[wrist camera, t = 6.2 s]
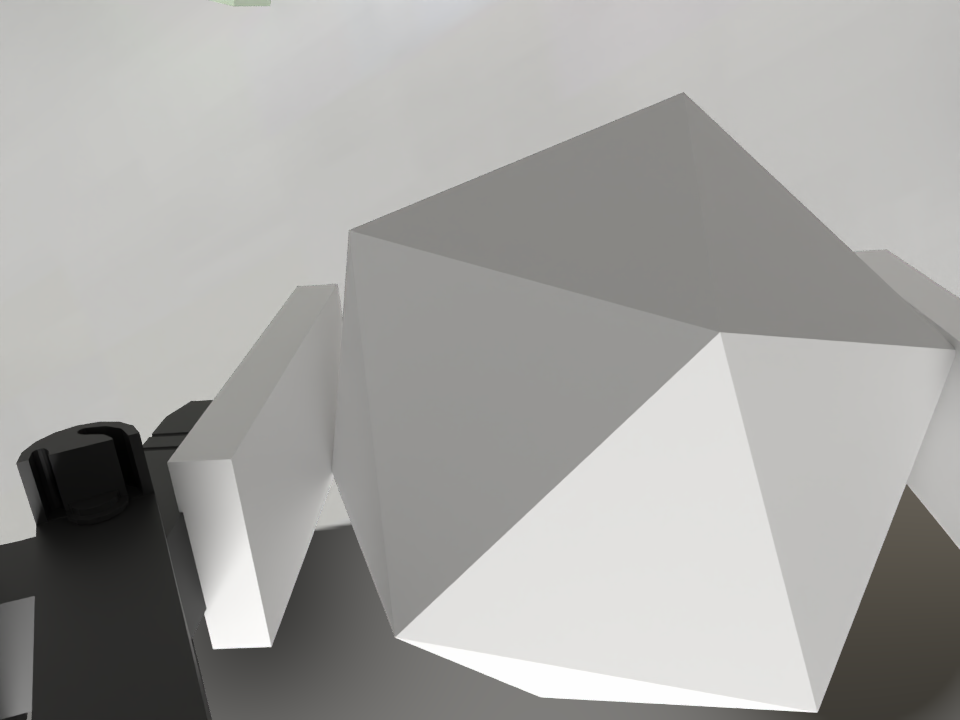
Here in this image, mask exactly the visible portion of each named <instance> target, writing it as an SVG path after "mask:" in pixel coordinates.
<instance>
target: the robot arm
mask: <svg viewBox="0 0 960 720" xmlns="http://www.w3.org/2000/svg"><path fill="white" fill-rule="evenodd" d="M854 253H855V254H856V255H857V256H858V257H859V258H860V259H861V260H863V261H864V262H865V263H866V264H867V265H868V266H869V267H870V268H871V269H872V270H873V271H874V272H875V273H876V274H877V275H879V276H880V277H881V278H882V279H883V280H884V281H885V282H886V283H887V284H888V285H889V286H890V287H891V288H892V289H893V290H894V291H896V292H897V293H898V294H899V295H900V296H901V297H902V298H903V299H904V300H905V301H906V302H907V303H908V304H909V305H910V306H912V307H913V308H914V309H915V310H916V311H917V312H918V313H919V314H920V315H921V316H922V317H923V318H924V319H925V320H926V321H927V322H929V323H930V324H931V325H932V326H933V327H934V328H935V329H936V330H937V331H938V332H939V333H940V334H941V335H942V336H943V337H944V338H946V339H947V340H948V341H949V342H950V343H951V344H952V345H953V346H954V348H955V349H956V356H955V359H954V361H953V364H952V366H951V369H950V372H949V374H948V377H947V379H946V382H945V384H944V387H943V390H942V392H941V395H940V397H939V400H938V403H937V405H936V408H935V410H934V413H933V415H932V418H931V421H930V423H929V426H928V428H927V431H926V434H925V436H924V439H923V441H922V444H921V446H920V449H919V452H918V454H917V457H916V459H915V462H914V465H913V467H912V470H911V472H910V475H909V477H908V480H907V483H906V484H907V485H908V486H909V487H910V488H911V490H912V491H913V492H914V493H915V495H916V496H917V497H918V498H919V499H920V501H921V502H922V503H923V504H924V506H925V507H926V508H927V509H928V510H929V512H930V513H931V514H932V516H933V517H934V518H935V519H936V520H937V522H938V523H939V524H940V525H941V527H942V528H943V529H944V530H945V531H946V533H947V534H948V535H949V536H950V538H951V539H952V540H953V541H954V543H955V544H956V545H957V546H958V548H959V549H960V298H958V297H957V296H955V295H954V294H952V293H951V292H949V291H948V290H946V289H945V288H943V287H942V286H940V285H939V284H937V283H936V282H934V281H933V280H931V279H930V278H928V277H927V276H925V275H924V274H922V273H921V272H920V271H918V270H917V269H915V268H914V267H912V266H911V265H909V264H908V263H906V262H905V261H903V260H902V259H900V258H899V257H897V256H896V255H894V254H893V253H891V252H890V251H888V250H887V249H886V250H870V251H854ZM342 320H343V317H342V311H341V304H340V297H339V290H338V284H327V285H312V286H297V288H296V289H295V290H294V292H293V293H292V294H291V296H290V297H289V298H288V300H287V301H286V302H285V304H284V305H283V307H282V308H281V309H280V311H279V312H278V313H277V315H276V316H275V317H274V319H273V320H272V321H271V323H270V324H269V325H268V327H267V328H266V329H265V331H264V332H263V334H262V335H261V336H260V338H259V339H258V340H257V342H256V343H255V344H254V346H253V347H252V348H251V350H250V351H249V352H248V354H247V355H246V356H245V358H244V359H243V361H242V362H241V363H240V365H239V366H238V367H237V369H236V370H235V371H234V373H233V374H232V375H231V377H230V378H229V379H228V381H227V382H226V383H225V385H224V386H223V388H222V389H221V390H220V392H219V393H218V394H217V396H216V397H215V398H214V400H207V401H191V402H189V403H188V404H186V405H184V406H183V407H181V408H180V409H178V410H176V411H175V412H173V413H172V414H170V415H168V416H167V417H166V418H165V419H164V420H163V421H162V422H161V424H160V425H159V426H158V427H157V429H156V430H155V431H154V432H153V433H152V437H149V438H148V440H147V441H146V442H145V443H144V444H143V445H142V441H141V438H140V434H139V432H138V431H137V430H136V428H135V427H134V426H133V425H129V424H125V423H122V422H96V423H90V424H84V425H78V426H75V427H71V428H68V429H65V430H62V431H58V432H55V433H53V434H51V435H49V436H47V437H45V438H43V439H41V440H39V441H37V442H35V443H34V444H32V445H31V446H30V447H28V448H27V449H26V450H25V451H23V452H22V453H21V455H20V457H19V459H18V461H17V463H16V464H17V467H18V470H19V473H20V476H21V479H22V482H23V485H24V488H25V491H26V494H27V498H28V501H29V504H30V507H31V510H32V513H33V516H34V519H35V522H36V537H33V538H29V539H26V540H22V541H18V542H13V543H9V544H4V545H0V720H26V719H27V714H28V712H31V711H32V720H212V717H211V713H210V709H209V705H208V700H207V696H206V692H205V688H204V684H203V680H202V675H201V671H200V667H199V663H198V659H197V655H196V651H195V647H194V644H193V639H192V637H193V635H194V633H195V631H196V629H197V627H198V625H199V623H200V621H201V619H202V617H203V615H204V614H205V618H206V622H207V626H208V630H209V634H210V638H211V642H212V646H213V649H225V648H251V647H271V646H272V644H273V641H274V638H275V636H276V633H277V630H278V627H279V625H280V622H281V619H282V617H283V614H284V611H285V609H286V606H287V603H288V600H289V598H290V595H291V592H292V590H293V587H294V584H295V582H296V579H297V576H298V573H299V571H300V568H301V565H302V563H303V560H304V557H305V554H306V551H307V549H308V546H309V544H310V541H311V538H312V536H313V533H314V530H315V527H316V525H317V522H318V519H319V517H320V514H321V511H322V508H323V506H324V503H325V500H326V498H327V495H328V492H329V489H330V487H331V484H332V481H333V479H334V476H333V474H332V460H333V446H334V432H335V418H336V404H337V390H338V376H339V362H340V348H341V334H342Z"/></svg>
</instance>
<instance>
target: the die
mask: <svg viewBox="0 0 960 720" xmlns="http://www.w3.org/2000/svg"><path fill="white" fill-rule="evenodd" d="M955 356H956V349H955V348H954V346H953V345H952V344H951V343H950V342H949V341H948V340H947V339H946V338H944V337H943V336H942V335H941V334H940V333H939V332H938V331H937V330H936V329H935V328H934V327H933V326H932V325H931V324H930V323H929V322H927V321H926V320H925V319H924V318H923V317H922V316H921V315H920V314H919V313H918V312H917V311H916V310H915V309H914V308H913V307H912V306H910V305H909V304H908V303H907V302H906V301H905V300H904V299H903V298H902V297H901V296H900V295H899V294H898V293H897V292H896V291H894V290H893V289H892V288H891V287H890V286H889V285H888V284H887V283H886V282H885V281H884V280H883V279H882V278H881V277H880V276H879V275H877V274H876V273H875V272H874V271H873V270H872V269H871V268H870V267H869V266H868V265H867V264H866V263H865V262H864V261H863V260H861V259H860V258H859V257H858V256H857V255H856V254H855V253H854V252H853V251H852V250H851V249H850V248H849V247H848V246H847V245H846V244H844V243H843V242H842V241H841V240H840V239H839V238H838V237H837V236H836V235H835V234H834V233H833V232H832V231H831V230H830V229H829V228H827V227H826V226H825V225H824V224H823V223H822V222H821V221H820V220H819V219H818V218H817V217H816V216H815V215H814V214H813V213H811V212H810V211H809V210H808V209H807V208H806V207H805V206H804V205H803V204H802V203H801V202H800V201H799V200H798V199H797V198H796V197H794V196H793V195H792V194H791V193H790V192H789V191H788V190H787V189H786V188H785V187H784V186H783V185H782V184H781V183H780V182H778V181H777V180H776V179H775V178H774V177H773V176H772V175H771V174H770V173H769V172H768V171H767V170H766V169H765V168H764V167H763V166H761V165H760V164H759V163H758V162H757V161H756V160H755V159H754V158H753V157H752V156H751V155H750V154H749V153H748V152H747V151H746V150H744V149H743V148H742V147H741V146H740V145H739V144H738V143H737V142H736V141H735V140H734V139H733V138H732V137H731V136H730V135H728V134H727V133H726V132H725V131H724V130H723V129H722V128H721V127H720V126H719V125H718V124H717V123H716V122H715V121H714V120H713V119H711V118H710V117H709V116H708V115H707V114H706V113H705V112H704V111H703V110H702V109H701V108H700V107H699V106H698V105H697V104H695V103H694V102H693V101H692V100H691V99H690V98H689V97H688V96H687V95H686V94H685V93H684V92H683V93H681V94H678V95H676V96H673V97H671V98H668V99H666V100H664V101H661V102H659V103H656V104H654V105H651V106H649V107H647V108H644V109H642V110H639V111H637V112H635V113H632V114H630V115H627V116H625V117H622V118H620V119H618V120H615V121H613V122H610V123H608V124H605V125H603V126H601V127H598V128H596V129H593V130H591V131H588V132H586V133H584V134H581V135H579V136H576V137H574V138H572V139H569V140H567V141H564V142H562V143H559V144H557V145H555V146H552V147H550V148H547V149H545V150H542V151H540V152H538V153H535V154H533V155H530V156H528V157H525V158H523V159H521V160H518V161H516V162H513V163H511V164H509V165H506V166H504V167H501V168H499V169H496V170H494V171H492V172H489V173H487V174H484V175H482V176H479V177H477V178H475V179H472V180H470V181H467V182H465V183H463V184H460V185H458V186H455V187H453V188H450V189H448V190H446V191H443V192H441V193H438V194H436V195H433V196H431V197H429V198H426V199H424V200H421V201H419V202H416V203H414V204H412V205H409V206H407V207H404V208H402V209H400V210H397V211H395V212H392V213H390V214H387V215H385V216H383V217H380V218H378V219H375V220H373V221H370V222H368V223H366V224H363V225H361V226H358V227H356V228H353V229H351V230H349V237H348V251H347V265H346V278H345V292H344V306H343V320H342V334H341V348H340V362H339V376H338V390H337V404H336V418H335V432H334V446H333V460H332V474H333V476H334V479H335V482H336V484H337V487H338V489H339V492H340V495H341V497H342V500H343V502H344V505H345V508H346V510H347V513H348V516H349V518H350V521H351V523H352V526H353V529H354V531H355V534H356V536H357V539H358V542H359V544H360V547H361V550H362V552H363V555H364V557H365V560H366V563H367V565H368V568H369V571H370V573H371V576H372V578H373V581H374V584H375V586H376V589H377V591H378V594H379V597H380V599H381V602H382V605H383V607H384V610H385V612H386V615H387V618H388V620H389V623H390V625H391V628H392V631H393V634H394V636H395V638H398V639H400V640H402V641H405V642H407V643H410V644H412V645H415V646H417V647H420V648H422V649H424V650H427V651H429V652H432V653H434V654H437V655H439V656H441V657H444V658H446V659H449V660H451V661H454V662H456V663H459V664H461V665H463V666H466V667H468V668H471V669H473V670H476V671H478V672H480V673H483V674H485V675H488V676H490V677H493V678H495V679H498V680H500V681H502V682H505V683H507V684H510V685H512V686H515V687H517V688H519V689H522V690H524V691H527V692H529V693H532V694H534V695H537V696H539V697H547V698H564V699H565V698H566V699H583V700H601V701H619V702H639V703H656V704H674V705H693V706H710V707H729V708H746V709H748V708H749V709H765V710H784V711H802V712H818V710H819V707H820V705H821V702H822V699H823V697H824V694H825V692H826V689H827V687H828V683H829V681H830V679H831V676H832V674H833V671H834V668H835V666H836V663H837V661H838V658H839V655H840V653H841V650H842V648H843V645H844V642H845V640H846V638H847V635H848V632H849V630H850V627H851V625H852V622H853V619H854V617H855V614H856V612H857V609H858V607H859V604H860V601H861V599H862V596H863V594H864V591H865V588H866V586H867V583H868V581H869V578H870V575H871V573H872V570H873V568H874V565H875V562H876V560H877V557H878V555H879V552H880V550H881V547H882V545H883V542H884V539H885V537H886V534H887V532H888V529H889V526H890V524H891V521H892V519H893V516H894V514H895V511H896V508H897V506H898V503H899V501H900V498H901V495H902V493H903V490H904V488H905V485H906V483H907V480H908V477H909V475H910V472H911V470H912V467H913V465H914V462H915V459H916V457H917V454H918V452H919V449H920V446H921V444H922V441H923V439H924V436H925V434H926V431H927V428H928V426H929V423H930V421H931V418H932V415H933V413H934V410H935V408H936V405H937V403H938V400H939V397H940V395H941V392H942V390H943V387H944V384H945V382H946V379H947V377H948V374H949V372H950V369H951V366H952V364H953V361H954V359H955Z"/></svg>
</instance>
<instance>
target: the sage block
mask: <svg viewBox="0 0 960 720" xmlns="http://www.w3.org/2000/svg"><path fill="white" fill-rule="evenodd" d="M210 1H214V2H218V3H223V4H227V5H231V6H270V4H271V0H210Z"/></svg>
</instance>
